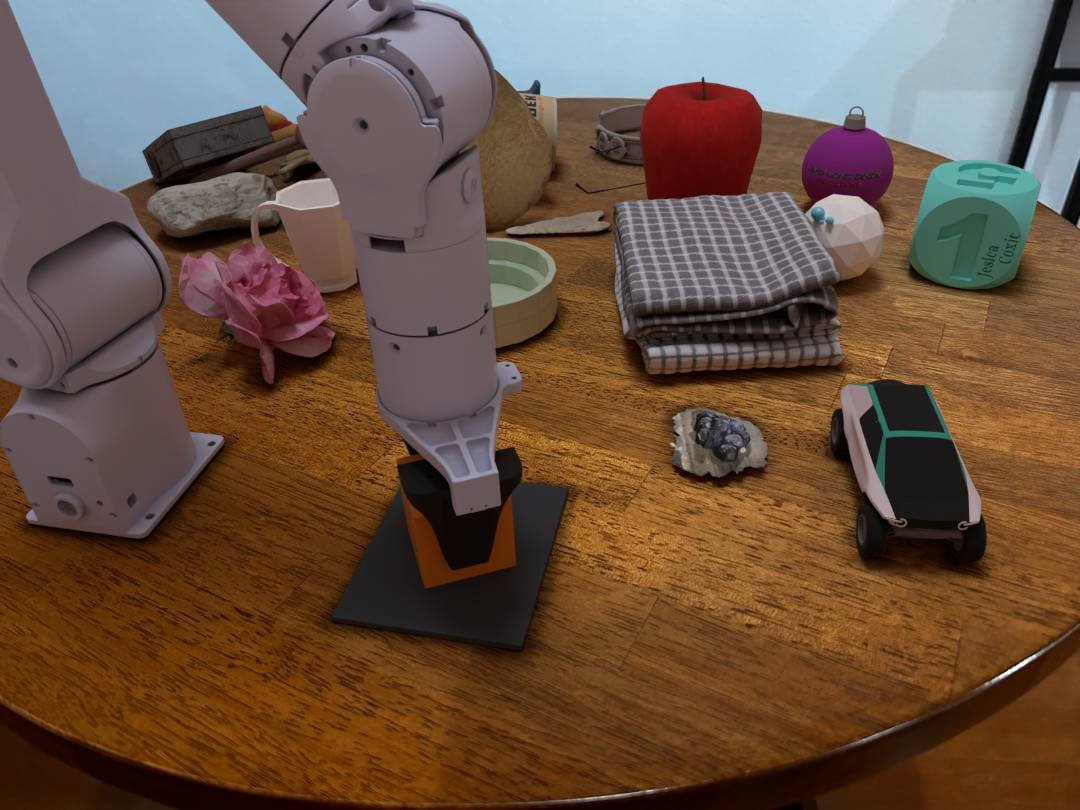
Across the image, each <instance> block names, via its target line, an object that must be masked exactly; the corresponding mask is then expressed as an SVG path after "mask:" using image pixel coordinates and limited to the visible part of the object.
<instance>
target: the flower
mask: <svg viewBox="0 0 1080 810" xmlns="http://www.w3.org/2000/svg"><path fill="white" fill-rule="evenodd" d="M265 248H266V247H265ZM265 248H256V247H255V245H254V244H253V242H251V241H244V242H243V243H242V244H240V245H238V246H236V247H235V248H233V250H232V251H231V253H230V255H229V257H228V258H227V262H225V261H224V260H222V259H221V258H219V257H218V256H217V255H215V254H214V253H212V252H211V251H204V252H203V253H201V254H200V255H198V256H197V257H193V256H191V255H190V253H188V252H187V253H186V254H185V255H184V256H182V257H181V268H180V273H179V279H178V294H179V295H178V296H179V301H180V302H182V303H184V304H185V305H186V306H187V307H188V308H189V309H190V310H192V311H194V312H195V313H196V314H198V315H199V316H200V317H202V318H211V319H220V320H222V322H221V325H220V326H219V329H218V333H217V337H216V340H215V342H214V343H213V345H212V346H211V347H210V349H208V350H206V351H205V352H203V353H202V354H201V355H199V356H197V357H196V358H195V360H196V361H198V360H199V359H201V357H203V356H204V355H206V353H207V352H208V351H209V350H211V349H212V348H213V347H215V345H216V344H218V343H219V342H221V341H222V340H224V339H226V338H228V337H229V338H230V340H231V341H230V343H229V345H228V346H230V345H232V344H234V343H236V342H237V344H241V345H245V346H247V347H250V348H254V349H257V350H259V358H260V362H261V371H262V376H263V379H264V381H265V382H266V383H267V384H269V385H271V384H272V385H273V384H274V379H275V370H276V369H275V358H274V353H273V351H274V350H275V349H279V350H281V351H282V352H284V353H286V354H287V353H288V354H292V355H295V356H299V357H305V358H314V357H317V356H319V355H321V354H323V353H325V352H327V351H328V350H329V349H330V348H332V344H333V343H332V340H334V337H335V335H336V332H335V331H333V330H332V329H330V328H328V327H325V326H321V324H324V323H327V320H328V319H329V318H330V313H329V312H328V311H327V306H326V301H325V300H323V296H322V295H321V294H322V292H319V289H318V288H317V287H316V286H315V284H314V282H313V281H311V280H310V279H309V278H308V277H307V276H306V275H305V273H304V272H303V271H301V270H299V269H296V268H294V267H292V266H290V265H288V266H286V265H285V264H286V263H285V264H283V263H282V262H283V261H282V262H281V263H279V264H278V263H277V261H276V259H275V258H274V256H275V255H274V254H272V252H271V251H269V249H267V248H266V249H265ZM273 255H274V256H273Z"/></svg>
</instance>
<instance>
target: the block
mask: <svg viewBox="0 0 1080 810" xmlns="http://www.w3.org/2000/svg"><path fill="white" fill-rule="evenodd" d="M422 459H425V458H424V457H423V456H422V455H421V454H417V455H412V456H410V455H409V456H403V457H398V458H396V459H395V461H396V466H397V465H400V464H404V463H409V462H413V461H418V460H422ZM398 480H399V485H400V486H401V492H402V497H403V503H404V509H405V515H406V521H407V527H408V531H409V534H410V538H411V541H412V545H413V548H414V552H415V556H416V559H417V563H418V566H419V570H420V573H421V577H422V581H423V584H424V588H425V589H427V588H431V587H435V586H438V585H442V584H446V583H450V582H454V581H458V580H462V579H466V578H470V577H474V576H478V575H482V574H486V573H489V572H493V571H497V570H501V569H505V568H509V567H513V566H516V556H515V542H514V529H513V515H512V502H511V495H510V496H509V498H508V500H507V501H506V503H505V505H504V507H503V510H502V512H501V515H500V518H499V522H498V525H497V530H496V535H495V540H494V544H493V549H492V552H491V556H490V559H489V561H488V562H486V563H482V564H478V565H474V566H470V567H467V568H463V569H459V570H455V571H453V570H451V569H450V567H449V566H448V564H447V562H446V560H445V558H444V556H443V554H442V551H441V548H440V546H439V543H438V540H437V538H436V535H435V533H434V530H433V528H432V527H431V525H430V523H429V522H428V521H427V519H426V518H425V517H424V516H423V515H422V514H421V513H420V512H419V511H418V510H417V509H415V508H414V507H413V506H412V505H411V503H410V502H409V501H408V499H407V497H406V496H405V494H404V491H403V488H402V485H401V481H400V478H399V477H398ZM400 486H399V487H400Z"/></svg>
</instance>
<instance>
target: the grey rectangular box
mask: <svg viewBox="0 0 1080 810" xmlns="http://www.w3.org/2000/svg"><path fill="white" fill-rule="evenodd" d="M262 107H263V106H262V105H257V106H253V107H250V108H245V109H241V110H237V111H234V112H230V113H227V114H223V115H219V116H215V117H211V118H208V119H204V120H199V121H196V122H193V123H188V124H185V125H180V126H176V127H172V128H169V129H167V130H166V131H164V132H163V133H162V134H160V135H159V136H158V137H157V138H156V139H155V140H153V141H152V142H151V143H150V144H149V145H147V146H145V148H144V149H142V151H141V153H142V155H143V157H144V160H145V161H146V165H147V166H148V169H149V171H150V174H151V176H152V179H153V181H154V183H155V184H159V183H162V182H165V181H170V180H172V179H176V178H179V177H183V176H186V175H187V176H188V175H190V174H193V173H196V172H200V171H201V172H202V171H203V170H207V169H212V168H215V167H218V166H220V165H222V164H225V163H227V162H229V161H232V160H234V159H236V158H239V157H241V156H244V155H246V154H248V153H251V152H253V151H256V150H258V149H261V148H263V146H265V145H267V144H270V143H272V142H274V138H273V136H272V133H271V131H270V128H269V125H268V123H267V120H266V117H265V115H264V112H263V109H262Z"/></svg>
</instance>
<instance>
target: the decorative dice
mask: <svg viewBox="0 0 1080 810" xmlns="http://www.w3.org/2000/svg"><path fill="white" fill-rule="evenodd" d="M1041 186H1042V184H1041V182H1040V181H1039V179H1038V178H1037V177H1036V176H1035V174H1033V173H1032V172H1030V171H1028V170H1026V169H1023V168H1021V167H1018V166H1016V165H1012V164H1008V163H1007V164H1006V163H1004V162H998V161H990V160H982V159H981V160H980V159H962V160H953V161H948V162H944V163H941V164H939V165H938V166H936V167H934V168H933V169H931V171H930V172H929V176H928V179H927V182H926V185H925V188H924V192H923V195H922V198H921V202H920V205H919V210H918V213H917V218H916V222H915V226H914V231H913V234H912V237H911V238H912V239H911V244H910V248H909V254H908V262H909V264H910V265H911V266H912V267H913V269H914V270H915V271H916V272H917V273H918V274H919V275H920V276H921V277H923V278H925V279H927V280H928V281H931V282H933V283H935V284H940V285H942V286H946V287H951V288H956V289H963V290H988V289H994V288H997V287H1001V286H1002V285H1005V284H1006V283H1008V282H1010V281H1012V280H1014V279H1015V277H1016V275H1017V272H1018V269H1019V266H1020V263H1021V259H1022V257H1023V253H1024V250H1025V247H1026V243H1027V240H1028V237H1029V233H1030V230H1031V226H1032V222H1033V219H1034V215H1035V212H1036V208H1037V204H1038V200H1039V196H1040V191H1041Z"/></svg>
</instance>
